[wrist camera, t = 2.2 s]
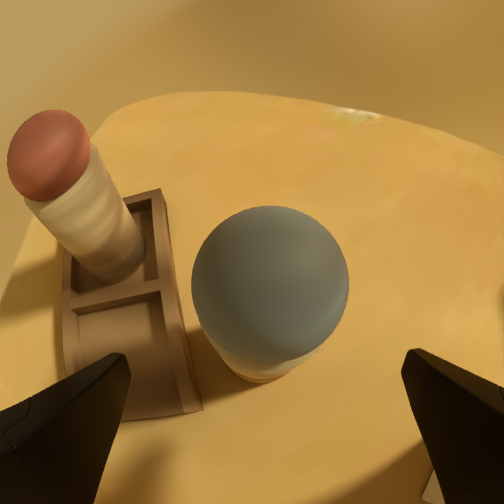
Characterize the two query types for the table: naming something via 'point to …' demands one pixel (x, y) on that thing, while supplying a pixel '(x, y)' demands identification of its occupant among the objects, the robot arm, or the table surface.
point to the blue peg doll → (269, 290)
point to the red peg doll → (75, 195)
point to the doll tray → (134, 320)
